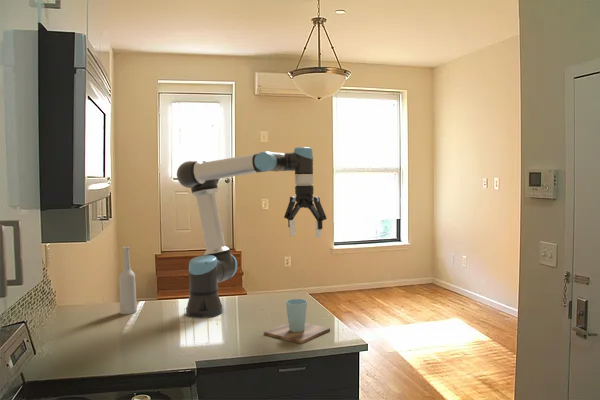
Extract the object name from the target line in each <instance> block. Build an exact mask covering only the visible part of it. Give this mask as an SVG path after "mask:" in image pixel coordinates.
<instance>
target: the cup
mask: <svg viewBox="0 0 600 400" xmlns="http://www.w3.org/2000/svg"><path fill="white" fill-rule="evenodd" d="M285 306H286V313H287V320H288V322H289V330H290V331H292V332H302V331H304V330H305V323H306V317H307V307H308V300H306V299H301V298H292V299H288V300H286V301H285ZM288 322H287V323H288Z"/></svg>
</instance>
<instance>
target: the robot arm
mask: <svg viewBox="0 0 600 400" xmlns="http://www.w3.org/2000/svg"><path fill="white" fill-rule="evenodd" d="M313 153H314V152H313V149H312V147H309V146H307V147H306V146H298V147H294V151H293V152H274V151H268V150H266V151H259V153H252V154H247V155H241V156H235V157H229V158H223V159H217V160H212V161H202V160H196V161H195V160H194V161H192V160H191V161H190V160H188V161H185V162H183V163H182V164H180V165H179V167H178V168H177V171H176V179H177V182H178V183H179V184H180V185H181V186H182V187H184V188H187V189H190V190H191V194H192V195H193V196H194V197H195V199H196V203H197V208H198V212H199V218H200V224H201V229H202V232H203V233H202V234H203V240H204V243H205V248H206V250H205V252H204V253H203V255H199V256H196V257H193V258H192V259H190V261H189V262H188V277H189V280H188V281H189V283H188V284H189V297H188V301H187V305H186V308H185V315H186V316H188V317H190V318H201V319H202V318H211V317H216V316H219V315H221V314H222V313H223V308H224V307H223V304H222V302H221V298H220V296H219V285H218V284H219V283H222V282H224V281H225V282H226V281H228V280H229V279H231V278H232V277H233V276H235V274H236V273H237V270H238V261H237V258H236V257H235V256H234V255H233V254H232V252H231V250H230V248H229V247H228V246H226V241H225V236H224V230H223V226H222V221H221V215H220V210H219V206H218V200H217V194H216V193H217V191H218V190H219V187H218V184H219V181H220V179H225V178H231V177H237V176H238V177H239V176H244V175H251V174H257V173H266V172H294V184H295V187H294V189H295V190H294V191H295V193H294V194H295V196H290V197H289V202H288V206H287V207H286V211H285V213H284V216H283V217H284V219H287V222H288V225H287V226H288V228H289V236H290V237H291V236H293V237H294V236H296V221H295V217H296V215H297V214H298V213H299V211H300V209H302V208H305V209H309V211H310V213H311V214H312V215H313V217H314V218H315V220H316V221H315V224H314V225H315V239H318V238H322V230H323V221H325V220H327V215H326V213H325V211H324V208H323V206H322V203H321V198H320V196H314V155H313Z"/></svg>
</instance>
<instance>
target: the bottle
mask: <svg viewBox="0 0 600 400" xmlns="http://www.w3.org/2000/svg"><path fill="white" fill-rule="evenodd" d="M122 250H123V252H122V253H123V255H122V256H123V258H122V259H123V263H122V265H123V268H122V269H123V270H122V271H121V273H120V274H119V276H118V278H119V279H118V280H119V281H118V282H119V285H118V286H119V311H120V312H119V313H120V314H121V315H132V314H133V315H134V314H136V313H137V309H138V308H137V289H136V288H137V287H136V285H137V284H136V274H135V272H134V271H133V270H132V268H131V259H130V257H131V256H130V246H122Z"/></svg>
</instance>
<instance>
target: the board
mask: <svg viewBox="0 0 600 400" xmlns="http://www.w3.org/2000/svg"><path fill="white" fill-rule="evenodd" d="M330 331H331V327H328V326H327V327H326V326H322V325H319V324H318V325H316V324H312V323H309V322H308V323H307V322H305V330H304V331H302V332H292V331H290V330H289V322H287V323H283V324H281V325H279V326H278V325H277V326H275V327H273V328H270V329H268V330H265V331H263V335H264V336H269V337H272V338H276V339H281V340H284V341H289V342H293V343H298V344H301V345H302V344H304V343H306V342H308V341H311V340H312V339H315V338H317V337H319V336H322V335H324V334H327V333H329V332H330Z"/></svg>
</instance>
